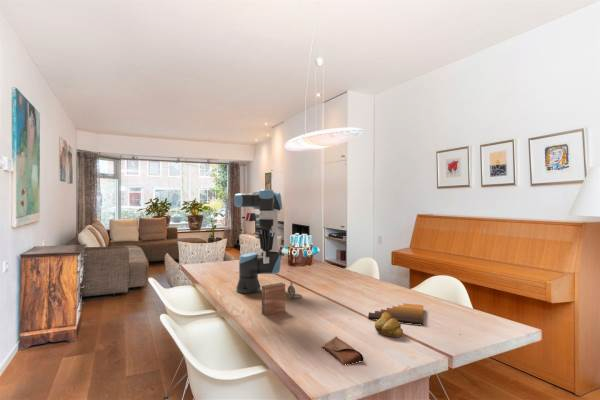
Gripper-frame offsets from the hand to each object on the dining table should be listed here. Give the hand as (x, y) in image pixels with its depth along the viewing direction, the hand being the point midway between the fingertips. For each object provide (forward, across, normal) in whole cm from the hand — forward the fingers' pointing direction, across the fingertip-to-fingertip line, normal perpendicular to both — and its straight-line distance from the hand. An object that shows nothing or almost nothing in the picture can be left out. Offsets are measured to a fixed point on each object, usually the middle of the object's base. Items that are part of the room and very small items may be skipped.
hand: (266, 263), depth 184 cm
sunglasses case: (+25, +63, -6) cm, 68 cm away
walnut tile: (+24, +7, 0) cm, 25 cm away
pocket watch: (+24, -7, +24) cm, 35 cm away
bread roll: (+25, +61, +24) cm, 70 cm away
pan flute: (+25, +48, +48) cm, 72 cm away
